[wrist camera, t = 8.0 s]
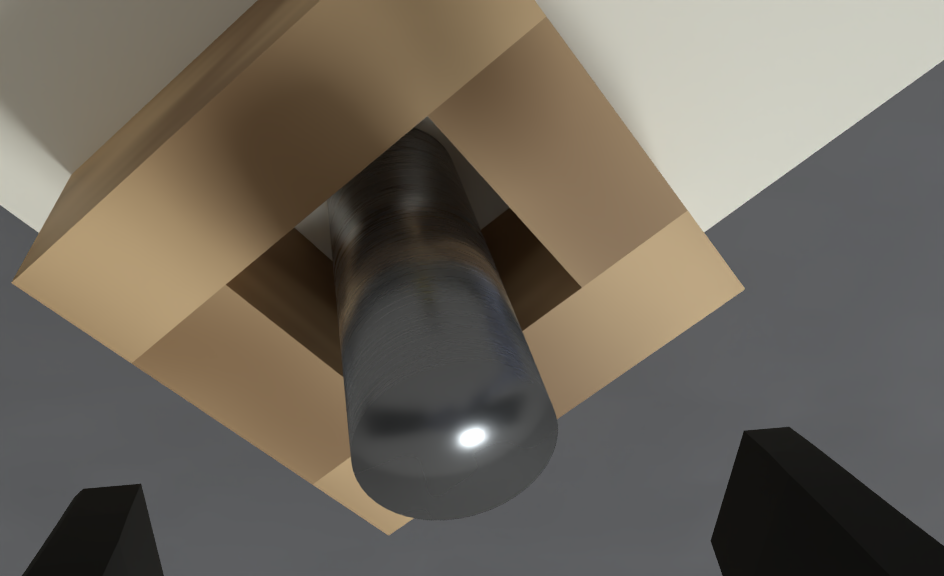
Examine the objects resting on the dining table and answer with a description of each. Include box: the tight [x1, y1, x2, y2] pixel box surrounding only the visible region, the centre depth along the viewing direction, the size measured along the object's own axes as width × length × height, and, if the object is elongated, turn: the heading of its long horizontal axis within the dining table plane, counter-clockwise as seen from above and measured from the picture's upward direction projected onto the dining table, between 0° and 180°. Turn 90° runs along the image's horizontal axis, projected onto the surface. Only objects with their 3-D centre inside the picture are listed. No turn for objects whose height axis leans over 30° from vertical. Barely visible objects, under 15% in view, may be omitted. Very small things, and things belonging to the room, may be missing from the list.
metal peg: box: [327, 128, 558, 520], centre depth 14 cm, size 3×3×8 cm
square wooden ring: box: [12, 0, 745, 535], centre depth 16 cm, size 9×9×4 cm
